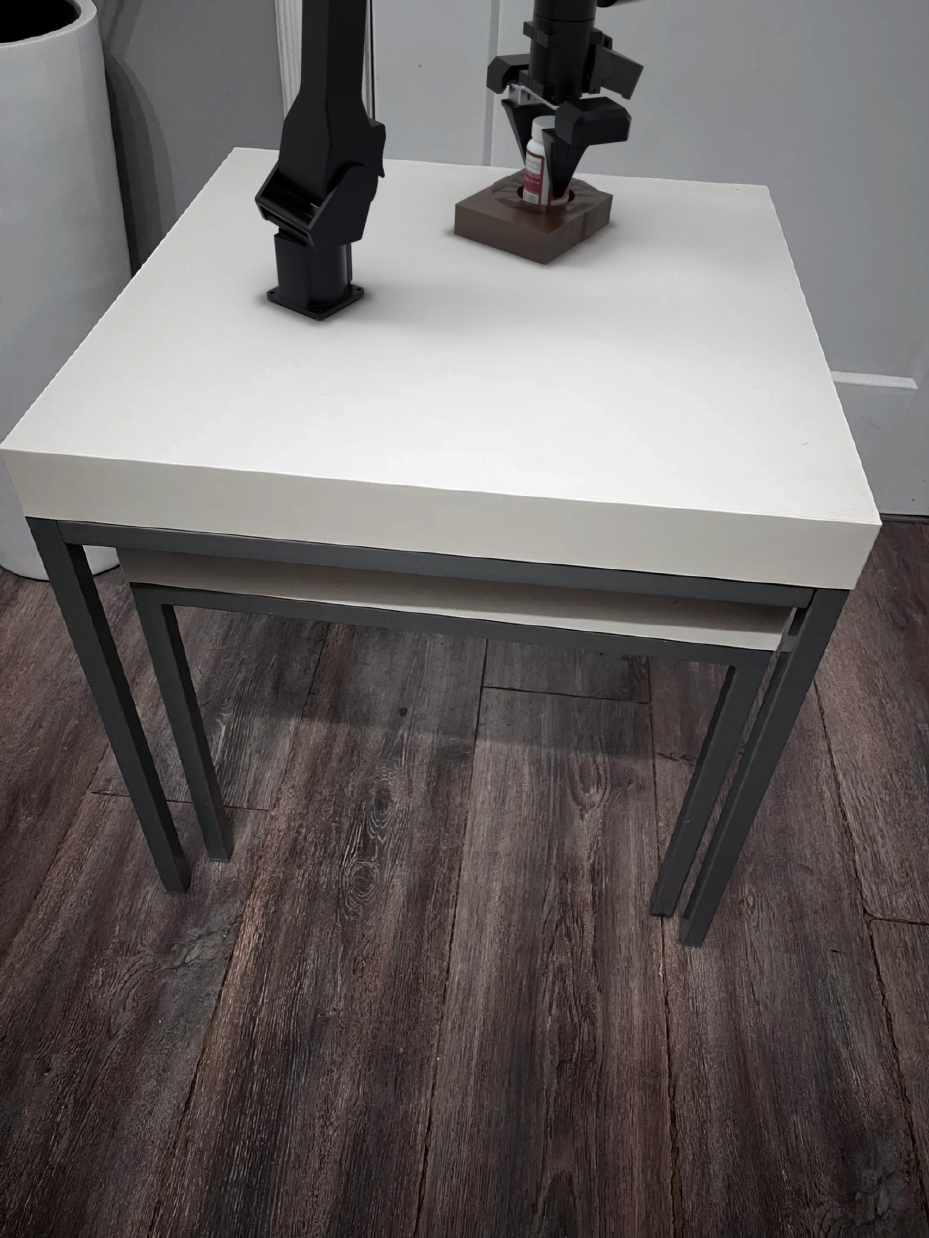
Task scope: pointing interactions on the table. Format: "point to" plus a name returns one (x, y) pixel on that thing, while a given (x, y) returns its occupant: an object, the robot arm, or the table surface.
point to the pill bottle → (539, 167)
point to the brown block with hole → (531, 218)
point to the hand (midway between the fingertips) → (545, 188)
